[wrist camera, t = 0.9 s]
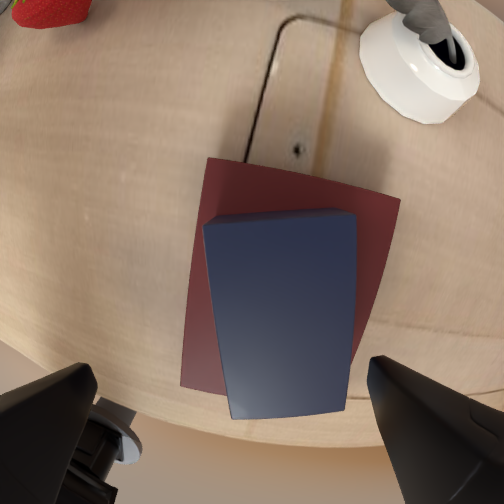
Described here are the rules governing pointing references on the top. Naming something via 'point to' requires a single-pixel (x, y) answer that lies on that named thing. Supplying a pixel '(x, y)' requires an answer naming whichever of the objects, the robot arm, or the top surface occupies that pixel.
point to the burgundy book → (264, 200)
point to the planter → (4, 5)
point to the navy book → (283, 308)
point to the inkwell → (419, 61)
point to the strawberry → (49, 12)
